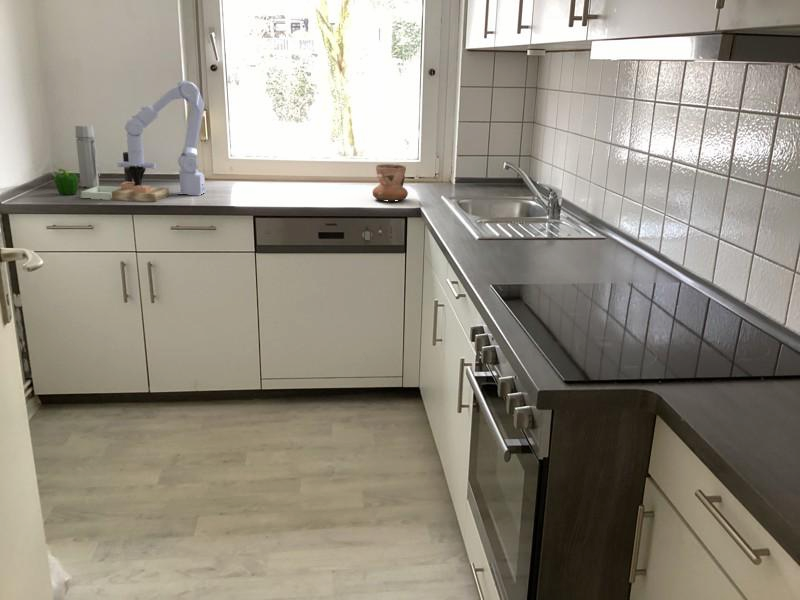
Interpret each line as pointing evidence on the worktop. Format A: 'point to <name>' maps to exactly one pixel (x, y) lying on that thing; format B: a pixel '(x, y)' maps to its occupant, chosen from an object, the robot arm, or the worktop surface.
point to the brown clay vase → (390, 182)
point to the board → (140, 194)
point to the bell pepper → (66, 183)
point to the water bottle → (87, 156)
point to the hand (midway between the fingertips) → (138, 186)
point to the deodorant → (127, 174)
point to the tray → (99, 192)
